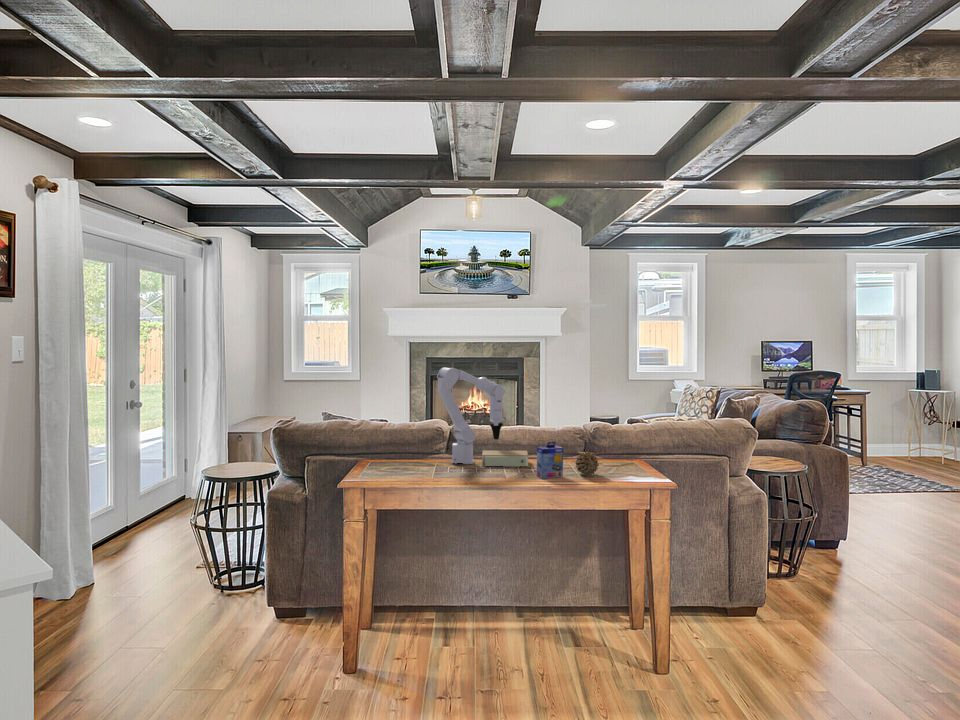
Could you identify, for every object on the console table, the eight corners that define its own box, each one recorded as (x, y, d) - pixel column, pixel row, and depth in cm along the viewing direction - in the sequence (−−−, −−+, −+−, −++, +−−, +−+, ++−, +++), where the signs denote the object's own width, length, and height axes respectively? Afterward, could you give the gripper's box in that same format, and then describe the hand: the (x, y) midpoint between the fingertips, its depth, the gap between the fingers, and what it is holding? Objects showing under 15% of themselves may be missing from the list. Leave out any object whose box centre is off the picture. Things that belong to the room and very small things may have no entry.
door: (483, 466, 288) (482, 457, 287) (483, 465, 289) (483, 456, 289) (525, 466, 287) (525, 457, 287) (525, 466, 289) (525, 456, 289)
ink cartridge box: (542, 479, 263) (542, 443, 262) (535, 476, 268) (535, 441, 268) (563, 477, 267) (563, 441, 266) (557, 474, 272) (557, 439, 271)
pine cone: (602, 479, 263) (602, 454, 263) (578, 479, 263) (578, 454, 262) (591, 468, 285) (591, 445, 285) (568, 468, 285) (568, 445, 284)
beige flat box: (482, 466, 290) (482, 455, 289) (482, 461, 302) (482, 450, 301) (527, 466, 289) (527, 455, 289) (527, 461, 301) (526, 450, 301)
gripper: (504, 411, 298) (504, 441, 298) (504, 408, 312) (505, 436, 313) (489, 411, 298) (489, 441, 299) (490, 408, 313) (490, 436, 313)
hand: (496, 439), depth 306 cm, fingers closed
